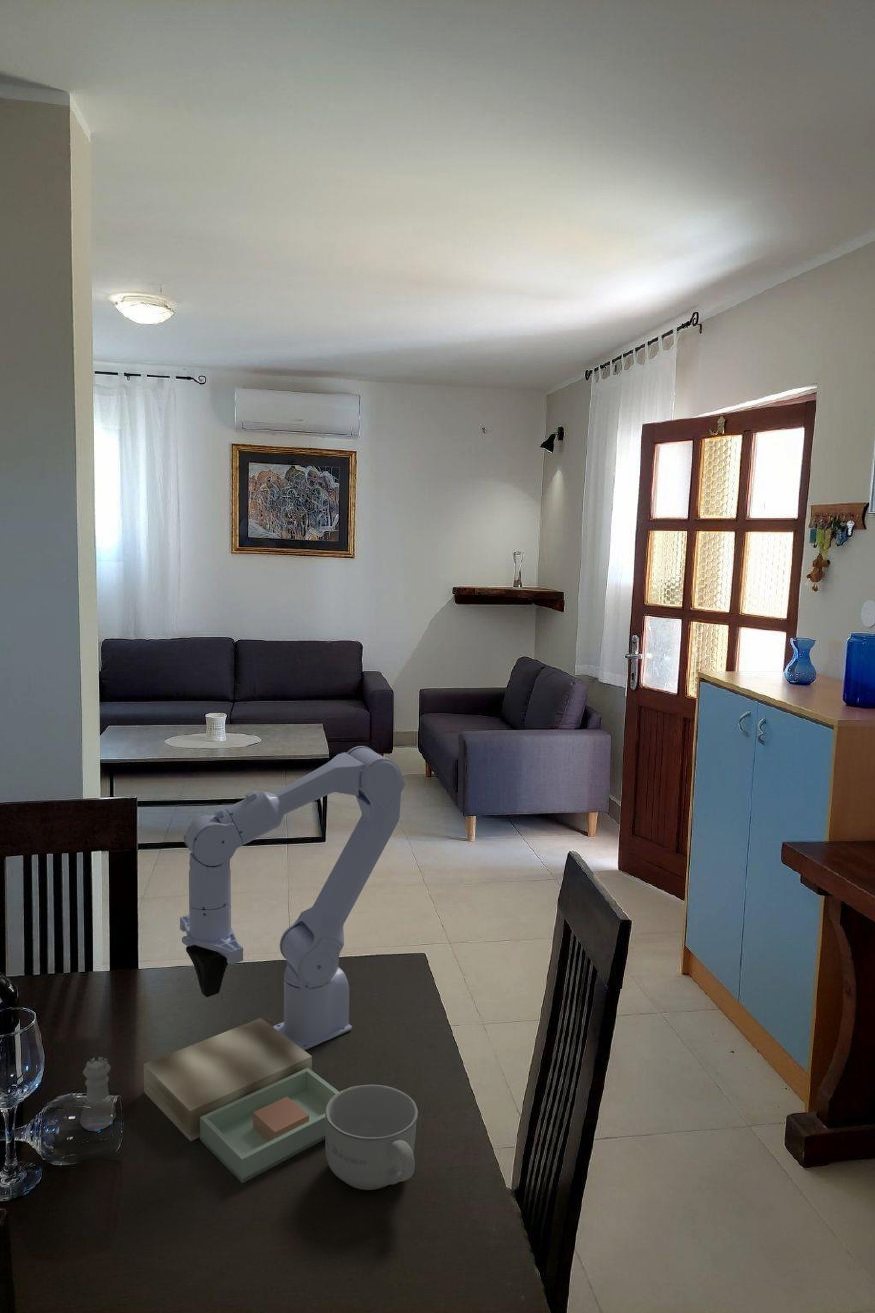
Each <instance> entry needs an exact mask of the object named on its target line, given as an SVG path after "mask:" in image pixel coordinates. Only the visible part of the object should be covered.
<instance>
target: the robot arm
mask: <svg viewBox="0 0 875 1313" xmlns="http://www.w3.org/2000/svg"><path fill="white" fill-rule="evenodd" d="M405 786H406V781H405V780H404V776H403V775H402V772H401V769H400V766H399V765H398V764H397V763H396V762H395V761H393V760H392V759H390V758H387V757H385V756H382V755H381V754H380V753H377V752H376V751H374V749H372V748H370V747H368V746H364V745H358V746H355V747H352V748H351V749H349V750H348V751H347V752H341V753H338V754H336V756H334V757H333V758H332V759H330V760H329V761H328V762H327V763H325V764H323V765H322V766H319V767H318V768H316V769H314V770H313V771H310V772H309V773H308V774H305V775H304V776H302V777H300V778H299V779H296V780H295V781H293V782H291V783H290V784H288V785H286V786H285V787H283V788H281V789H280V790H278V791H276V792H274V793H271V792H267V791H265V790H260V791H258V792H257V793H256V792H255V791H254V790H251V791H248V793H246V794H244V795H245V798H244V799H243V800H241V801H238V802H236V803H234V804H232V805H230V806H228V807H227V808H225V809H224V808H223V809H222V808H221V807H220V808H217V809H216V810H214V815H213V814H210V815H208V814H205V815H201V816H199V817H197V818H194V820H192V821H191V822H190V824H189V825H188V826H187V828H186V831H185V834H184V835H183V841H184V844H185V846H186V847H187V849H188V850H189V851H190V853H189V863H188V864H189V871H188V907H189V908H188V910H189V911H188V915H183V916H180V917H179V930H180V931H182V932H185V934H186V935H185V936H182V937H181V943H182V944H184V945H185V946H186V947H185V952H186V953H187V955H188V957H189V958H190V960H191V963H192V964H193V967H194V970H195V973H196V976H197V980H198V984H199V988H200V992H201V993H202V995H203V996H204V997H206V998H209V997H212V996H214V995H218V994H220V991H221V988H222V984H223V980H224V976H225V972H226V970H227V967H228V964H229V965H230V966H232V965H234V964H238V963H240V962H243V961H244V947H243V946H242V945H241V944H240V943H239V942H238V939H237V936H236V934H235V932H234V929H233V928H232V880H231V879H232V870H231V859H232V858H233V856H235V855H234V854H235V852H236V850H237V849H239V848H241V847H242V846H245V845H246V844H248V843H250V842H252V841H254V840H256V839H257V838H260V837H261V836H264V835H265V834H267V833H269V832H271V831H273V830H275V829H277V828H279V827H280V826H281V824H282V821H283V819H284V817H285V815H287V814H288V813H291V812H292V811H296V810H298V809H299V808H301V807H304V806H306V805H308V804H310V803H313V802H315V801H317V800H319V799H322V798H324V797H326V796H328V795H331V794H333V793H339V794H344V795H351V796H354V797H356V801H357V803H358V807H359V809H360V812H361V816H360V818H359V820H358V821H357V823H356V825H355V827H354V829H353V831H352V832H351V834H350V836H349V838H348V840H347V842H346V843H345V845H344V847H343V850H342V851H341V853H340V854H339V857H338V859H337V861H336V862H335V864H334V866H333V867H332V870H331V872H330V873H329V875H328V877H327V879H326V881H325V883H324V884H323V886H322V888H321V890H320V892H319V894H318V896H317V898H316V899H315V901H314V902H313V905H312V906H311V907H309V908H306V909H305V910H303V911H301V912H300V914H299V916H298V918H297V919H296V920H295V922H294V923H292V925H290V926H289V927H288V928H287V929H285V930H284V932H283V934H282V936H281V937H280V940H279V951H280V953H281V955H282V956H283V958H284V959H285V960H286V967H285V970H284V974H283V1021H282V1022H280V1023H278V1024H274V1025H273V1026H272V1027H274V1028H275V1029H276V1030H278V1031H279V1032H280V1033H282V1034H283V1035H284V1036H286V1037H287V1038H288V1039H290V1040H291V1041H292V1042H294V1043H295V1044H296V1045H298V1046H299V1047H300V1048H302V1049H303V1050H304V1051H307V1050H309V1049H311V1048H313V1047H315V1046H318V1045H320V1044H322V1043H325V1042H327V1041H330V1040H331V1039H333V1038H336V1037H338V1036H340V1035H342V1034H345V1033H347V1032H349V1031H351V1030H352V1029H353V1026H352V1025H351V1024H350V1022H349V1021H350V1020H349V1019H350V1014H349V1013H350V985H349V981H348V978H347V975H346V974H345V972H344V971H343V970H342V969H341V968H340V966H339V962H340V961H339V960H340V959H339V958H340V955H341V954H340V953H341V952H342V949H343V948H344V945H345V934H344V933H345V932H344V925H345V922H346V921H347V919H348V917H349V916H350V914H351V912H352V910H353V908H354V906H355V905H356V902H357V901H358V898H359V896H360V895H361V893H362V892H363V889H364V887H365V885H366V884H367V881H368V879H369V878H370V875H371V874H372V871H373V870H374V869H375V866H376V864H377V863H378V861H379V859H380V858H381V855H382V853H383V852H384V850H385V848H386V846H387V844H388V842H389V840H390V838H391V837H392V834H393V832H394V830H395V829H396V827H397V825H398V823H399V821H400V817H401V802H402V801H401V799H402V792H403V790H404V788H405Z"/></svg>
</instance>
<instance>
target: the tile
mask: <svg viewBox="0 0 875 1313" xmlns="http://www.w3.org/2000/svg"><path fill="white" fill-rule="evenodd" d="M307 1122H309V1114H307V1113H306V1112H305V1111H304V1110H303V1109H301V1108H300V1107H299V1106H298V1105H297V1104H296V1103H294V1102H293V1101H292V1100H291V1099H290V1098H288V1097H284V1098H282V1099H280V1100H278V1101H276V1102H274V1103H272V1104H270V1105H268V1106H266V1107H264V1108H261V1109H259V1110H257V1111H255V1112H253V1128H255V1129H256V1130H257V1131H258V1132H259V1133H260V1134H261V1135H262V1136H263V1137H264V1138H265V1139H266V1140H267V1141H271V1140H273V1139H275V1138H277V1137H279V1136H281V1135H283V1134H285V1133H287V1132H289V1131H291V1130H293V1129H295V1128H297V1127H299V1126H301V1125H303V1124H305V1123H307Z"/></svg>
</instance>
